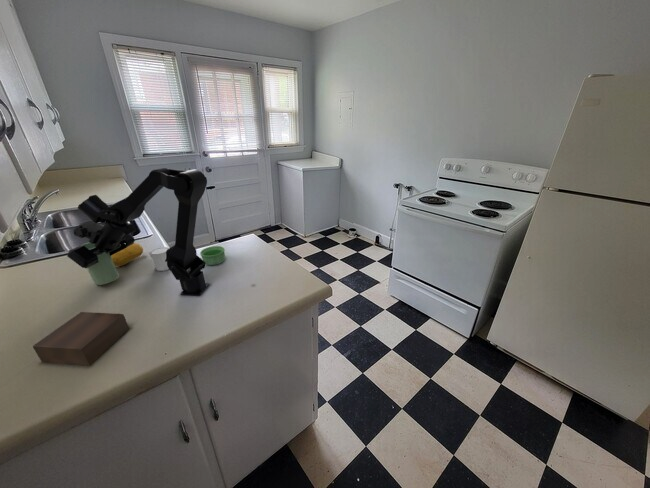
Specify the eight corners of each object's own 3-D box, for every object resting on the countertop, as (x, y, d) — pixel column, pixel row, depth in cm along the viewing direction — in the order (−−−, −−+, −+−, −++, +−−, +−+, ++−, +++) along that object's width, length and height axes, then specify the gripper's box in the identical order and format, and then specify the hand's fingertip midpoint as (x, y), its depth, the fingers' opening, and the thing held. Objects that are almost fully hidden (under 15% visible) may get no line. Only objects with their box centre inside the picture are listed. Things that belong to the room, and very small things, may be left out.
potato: (102, 268, 102) (96, 252, 99) (137, 253, 114) (132, 238, 111) (115, 272, 100) (109, 255, 97) (150, 256, 111) (145, 241, 108)
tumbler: (123, 273, 95) (109, 240, 90) (107, 285, 89) (91, 250, 83) (106, 273, 96) (91, 240, 90) (88, 284, 90) (71, 249, 84)
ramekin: (217, 253, 113) (215, 244, 111) (231, 259, 108) (229, 249, 106) (197, 262, 106) (195, 252, 104) (210, 268, 101) (208, 258, 99)
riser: (129, 328, 72) (123, 313, 70) (89, 365, 61) (81, 349, 59) (88, 326, 73) (81, 311, 71) (42, 362, 62) (32, 346, 60)
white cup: (165, 272, 99) (160, 255, 96) (150, 270, 100) (144, 254, 98) (178, 263, 105) (174, 247, 102) (163, 262, 107) (158, 246, 104)
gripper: (116, 206, 91) (99, 235, 97) (58, 224, 74) (42, 258, 80) (143, 228, 93) (125, 255, 99) (93, 252, 76) (76, 282, 82)
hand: (95, 261), depth 90 cm, fingers closed on tumbler, 7 cm apart
